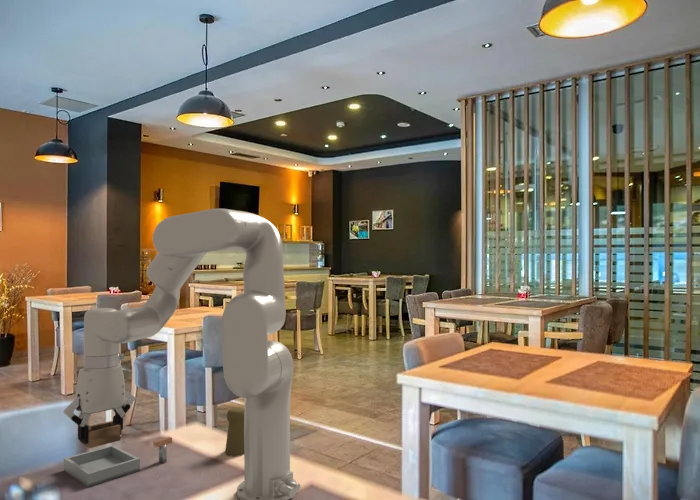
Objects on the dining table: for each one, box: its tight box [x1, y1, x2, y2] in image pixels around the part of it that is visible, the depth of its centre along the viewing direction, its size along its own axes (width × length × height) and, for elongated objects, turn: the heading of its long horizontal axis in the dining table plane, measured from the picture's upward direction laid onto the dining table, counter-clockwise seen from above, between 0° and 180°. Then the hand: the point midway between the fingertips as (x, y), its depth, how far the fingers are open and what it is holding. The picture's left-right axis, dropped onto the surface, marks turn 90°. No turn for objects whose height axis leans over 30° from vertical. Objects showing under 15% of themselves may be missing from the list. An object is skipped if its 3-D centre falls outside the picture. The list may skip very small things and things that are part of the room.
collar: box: [80, 420, 121, 449], centre depth 124 cm, size 7×5×4 cm
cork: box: [224, 406, 245, 457], centre depth 135 cm, size 6×6×11 cm
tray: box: [63, 444, 141, 488], centre depth 123 cm, size 14×12×3 cm
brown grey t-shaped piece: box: [152, 436, 173, 464], centre depth 128 cm, size 2×4×5 cm, turn 139°
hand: (100, 437), depth 124 cm, fingers closed on collar, 7 cm apart
